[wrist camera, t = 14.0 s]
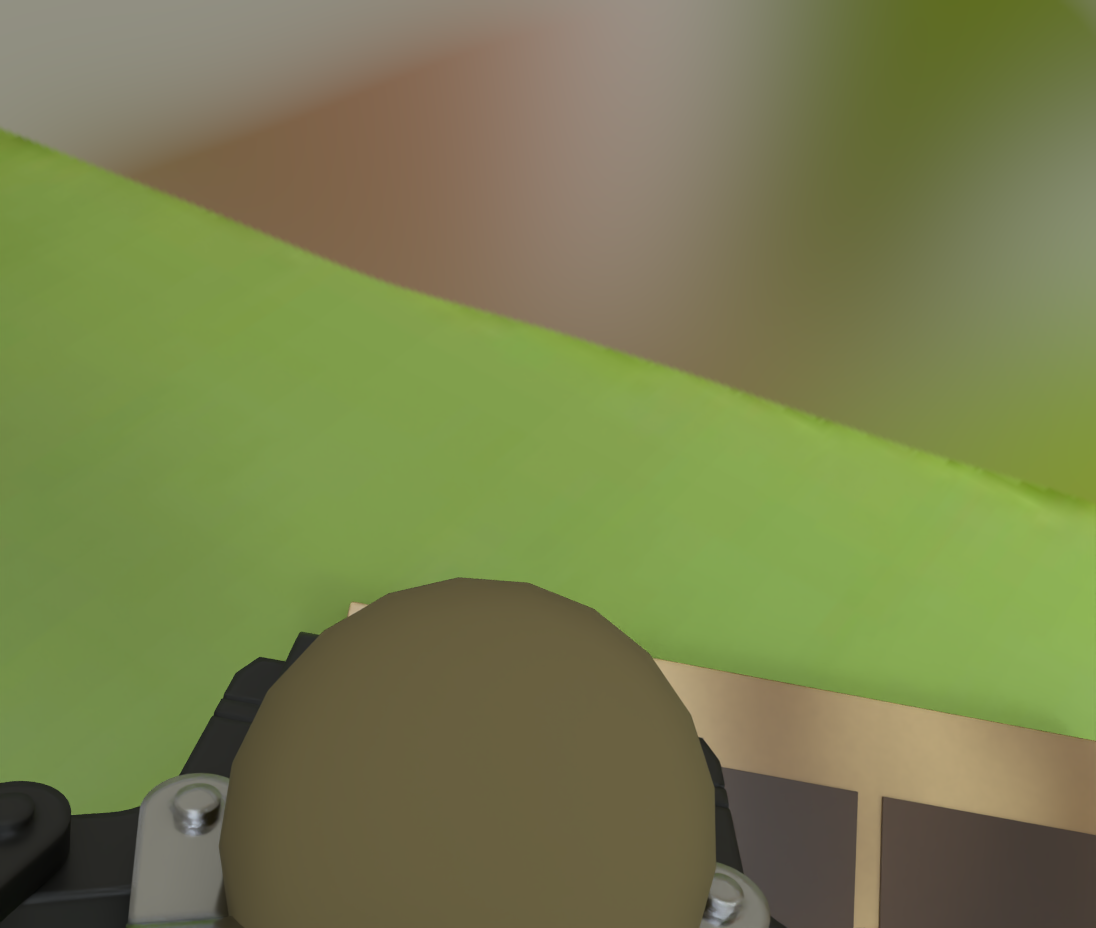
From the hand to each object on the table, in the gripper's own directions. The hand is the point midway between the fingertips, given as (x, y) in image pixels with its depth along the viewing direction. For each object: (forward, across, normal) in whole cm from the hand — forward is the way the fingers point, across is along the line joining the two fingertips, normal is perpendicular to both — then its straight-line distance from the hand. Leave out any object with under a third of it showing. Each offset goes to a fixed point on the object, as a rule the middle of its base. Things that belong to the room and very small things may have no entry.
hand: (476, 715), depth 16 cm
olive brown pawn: (+2, 0, +5) cm, 5 cm away
